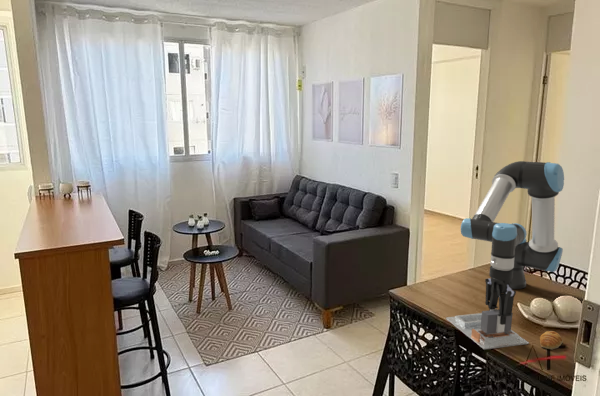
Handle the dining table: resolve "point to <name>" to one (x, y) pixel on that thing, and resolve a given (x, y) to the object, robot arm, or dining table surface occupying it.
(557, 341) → the pastry
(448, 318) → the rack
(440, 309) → the dining table surface
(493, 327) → the grey rectangular block
